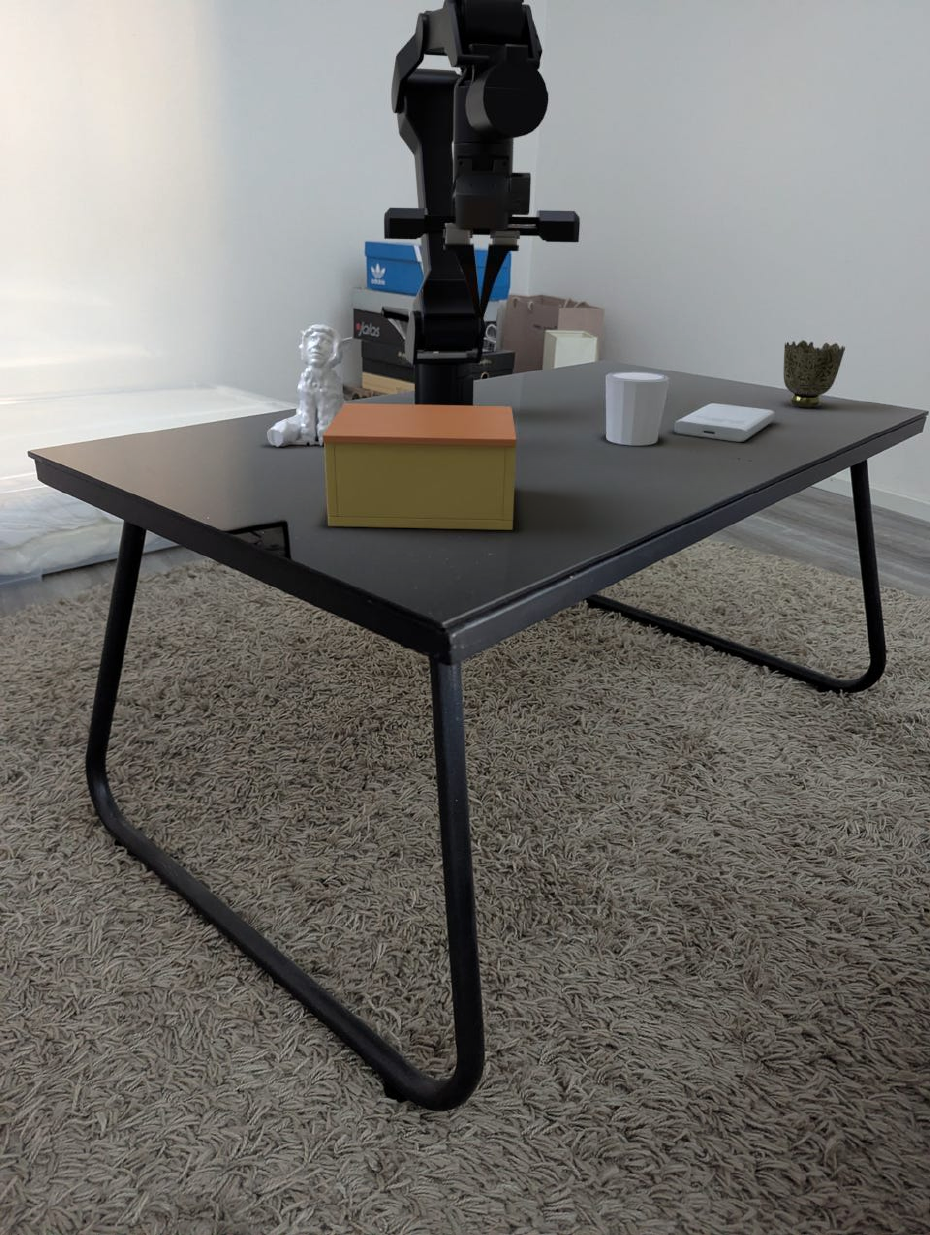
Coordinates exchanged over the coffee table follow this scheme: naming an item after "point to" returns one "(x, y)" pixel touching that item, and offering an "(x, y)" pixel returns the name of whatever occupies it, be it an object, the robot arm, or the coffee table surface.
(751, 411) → the hard drive
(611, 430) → the shot glass
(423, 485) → the open yellow box
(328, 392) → the sitting furry creature
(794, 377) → the cup
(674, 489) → the coffee table surface
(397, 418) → the lid
